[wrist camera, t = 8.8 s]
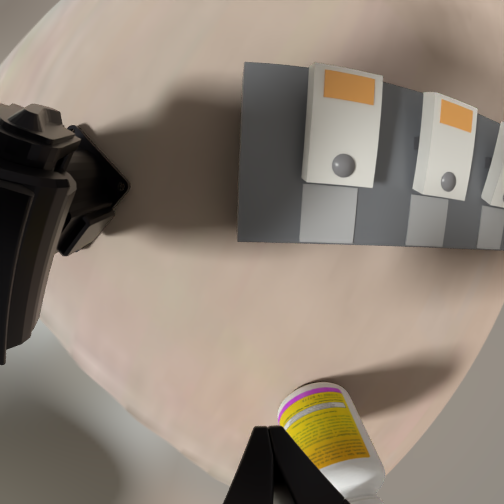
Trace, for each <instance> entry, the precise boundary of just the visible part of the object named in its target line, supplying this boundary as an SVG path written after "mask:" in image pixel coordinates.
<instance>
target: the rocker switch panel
mask: <svg viewBox="0 0 504 504" xmlns="http://www.w3.org/2000/svg"><path fill="white" fill-rule="evenodd" d="M308 76H309V68H307V67H299V66H290V65H280V64H269V63H254V62H245V63H244V71H243V80H242V101H241V124H240V148H239V174H238V203H237V241H238V242H272V243H310V244H345V245H376V246H405V247H432V248H457V249H481V250H503V251H504V208H502V207H498V206H493V205H490V204H488V203H487V202H486V201H485V200H483V199H482V198H481V195H482V192H483V189H484V185H485V182H486V179H487V176H488V172H489V169H490V165H491V162H492V158H493V154H494V150H495V146H496V142H497V138H498V133H499V129H500V124H499V123H497V122H495V121H493V120H491V119H489V118H486V117H484V116H482V115H480V114H477V122H476V133H475V142H474V150H473V157H472V163H471V170H470V176H469V181H468V186H467V192H466V196H465V201H462V200H456V199H450V198H444V197H437V196H431V195H424V194H421V193H419V192H417V191H416V190H414V189H412V188H413V182H414V176H415V170H416V163H417V156H418V148H419V140H420V131H421V121H422V109H423V93H420V92H417V91H414V90H410V89H407V88H404V87H400V86H396V85H393V84H389V83H385V82H383V88H382V105H381V118H380V130H379V140H378V149H377V158H376V166H375V174H374V181H373V188H368V187H358V186H347V185H336V184H324V183H311V182H306V181H305V180H303V179H302V178H301V176H302V164H303V152H304V139H305V126H306V111H307V95H308Z"/></svg>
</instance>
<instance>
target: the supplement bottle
mask: <svg viewBox="0 0 504 504" xmlns="http://www.w3.org/2000/svg"><path fill="white" fill-rule="evenodd" d="M278 423H279V425H280V426H282V427H283V428H284V429H285V430H286V431H287V432H288V434H289V435H290V436H291V437H292V439H293V440H294V441H295V442H296V443H297V445H298V446H299V447H300V448H301V449H302V450H303V452H304V453H305V454H306V455H307V456H308V457H309V459H310V460H311V461H312V462H313V463H314V464H315V466H316V467H317V468H318V469H319V470H320V471H321V472H322V473H323V475H324V476H325V477H326V478H327V479H328V480H329V481H330V482H331V483H332V484H333V486H334V487H335V488H336V489H337V490H338V491H339V492H340V493H341V494H342V495H343V496H344V499H347V500H348V501H349V502H350V504H384V502H383V500H381V499H380V498H379V497H378V496H377V494H376V493H377V491H378V490H379V489H380V488H381V486H382V484H383V483H384V480H385V469H384V467H383V465H382V462H381V460H380V458H379V456H378V454H377V452H376V450H375V448H374V445H373V443H372V441H371V439H370V437H369V435H368V433H367V431H366V429H365V427H364V425H363V422H362V420H361V418H360V416H359V414H358V412H357V410H356V408H355V406H354V404H353V402H352V399H351V398H350V396H349V394H348V392H347V391H346V390H345V389H344V388H343V387H341V386H339V385H337V384H334V383H329V382H318V383H312V384H308V385H305V386H303V387H301V388H298V389H297V390H295V391H293V392H292V393H291V394H289V395H288V396H287V397H286V398H285V399H284V400H283V402H282V403H281V405H280V407H279V410H278Z"/></svg>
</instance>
